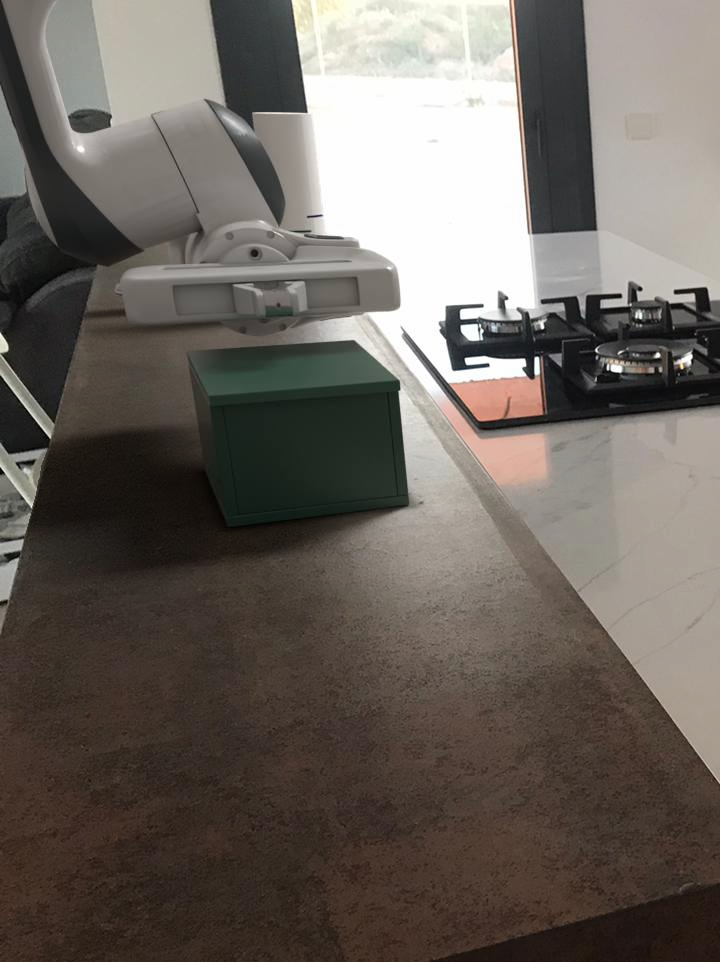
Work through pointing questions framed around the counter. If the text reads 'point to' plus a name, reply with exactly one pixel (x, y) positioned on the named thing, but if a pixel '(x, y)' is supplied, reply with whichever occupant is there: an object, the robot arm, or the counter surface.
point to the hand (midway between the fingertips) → (278, 305)
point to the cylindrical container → (294, 167)
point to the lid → (288, 372)
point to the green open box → (303, 456)
